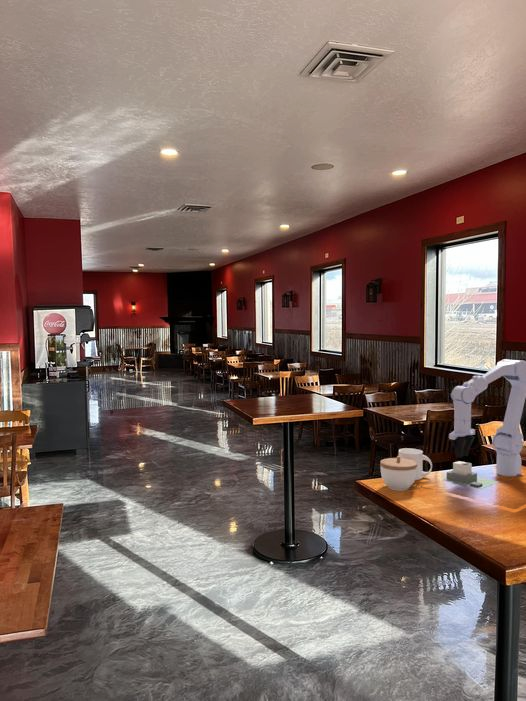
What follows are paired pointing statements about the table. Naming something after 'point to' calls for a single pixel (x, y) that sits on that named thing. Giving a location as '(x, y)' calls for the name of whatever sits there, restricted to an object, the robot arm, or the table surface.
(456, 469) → the plug
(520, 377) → the robot arm
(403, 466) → the lidded bowl
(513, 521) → the table surface
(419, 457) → the mug
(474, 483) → the board
